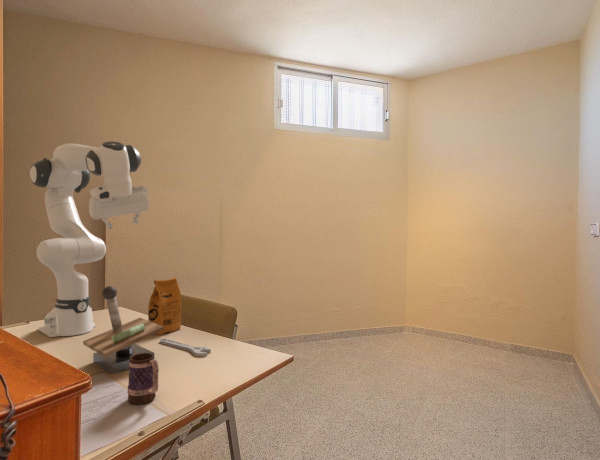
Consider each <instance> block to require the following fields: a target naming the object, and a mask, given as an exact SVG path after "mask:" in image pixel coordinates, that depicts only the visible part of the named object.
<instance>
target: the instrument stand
mask: <svg viewBox="0 0 600 460" xmlns="http://www.w3.org/2000/svg"><path fill="white" fill-rule="evenodd" d="M140 353H150V354H152V355H153V356H154V357H155V352H153V351H151V350H149V349H148V348H145V347H143V346H140V345H139V344H137V343H134V344H132V345H130V346H128V347H126V348H124V349H121V350H119V351H117V352H115V353H113V354H111V355H108V356H106V357H104V356H102V355H101V354H99V353H97V352H94V353H93V358H92V359H93V361H92V362H93V363H94V364H95V365H97V366H99V367H100V368H102V369H103V368H104V370H105V371H106V372H108V371H109V372H108V373H110V374H111V373H112V375H114V374H118V373H120V372H123V371H124V372H125V371H129V361H130V357H131V356H133V355H136V354H140Z"/></svg>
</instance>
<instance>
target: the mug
mask: <svg viewBox="0 0 600 460" xmlns="http://www.w3.org/2000/svg"><path fill="white" fill-rule="evenodd" d="M159 369H160V367H159V362H158V361H157V359H155V355H154V356H153V355H152V354H150V353H140V354H136V355H133V356H131V357H130V361H129V369H128V385H127V401H128V403H129V404H131V405H136V406H137V405H138V406H139V405H146V404H149V403H151V402H152V401H154V399H155V398H156V396H157V395H156V393H157V392H158V391H159Z"/></svg>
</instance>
